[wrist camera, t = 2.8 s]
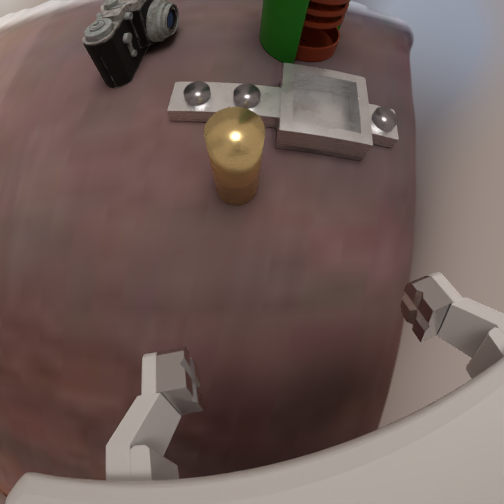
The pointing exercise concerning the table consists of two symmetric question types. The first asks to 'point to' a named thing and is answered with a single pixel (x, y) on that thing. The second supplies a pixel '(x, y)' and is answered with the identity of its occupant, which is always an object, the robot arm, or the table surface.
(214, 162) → the link pin
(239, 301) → the table surface
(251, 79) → the table surface
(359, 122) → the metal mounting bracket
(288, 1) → the motor
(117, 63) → the camera
